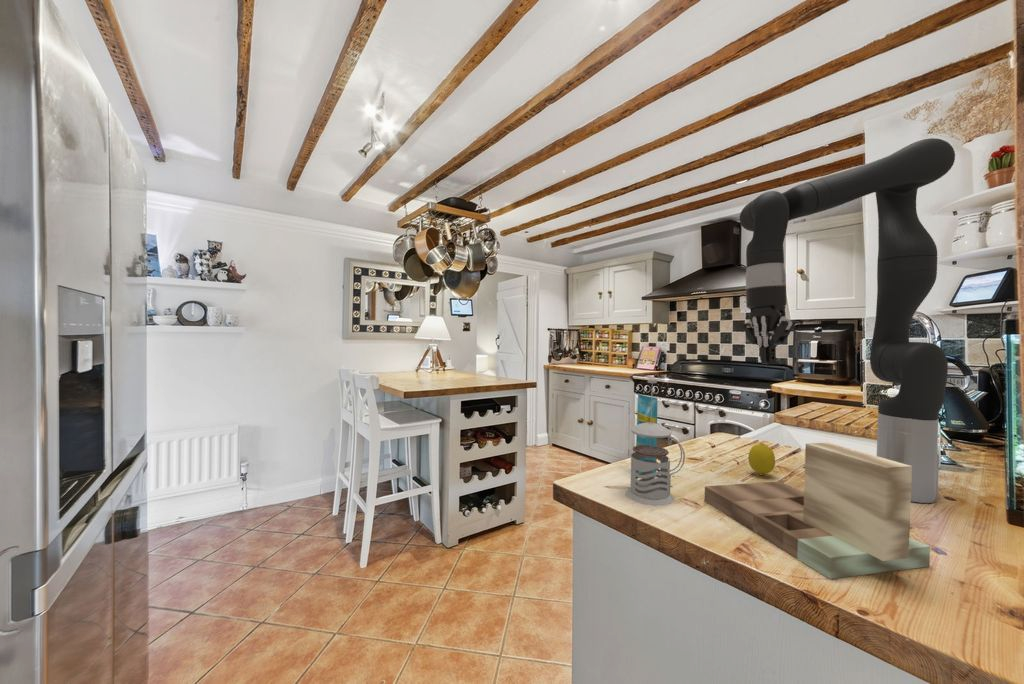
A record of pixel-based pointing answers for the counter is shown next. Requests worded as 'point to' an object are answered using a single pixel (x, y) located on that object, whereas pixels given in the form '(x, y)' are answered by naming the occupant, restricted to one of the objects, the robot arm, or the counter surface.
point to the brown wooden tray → (802, 530)
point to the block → (859, 499)
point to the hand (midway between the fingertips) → (768, 363)
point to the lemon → (761, 459)
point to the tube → (646, 421)
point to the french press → (651, 465)
